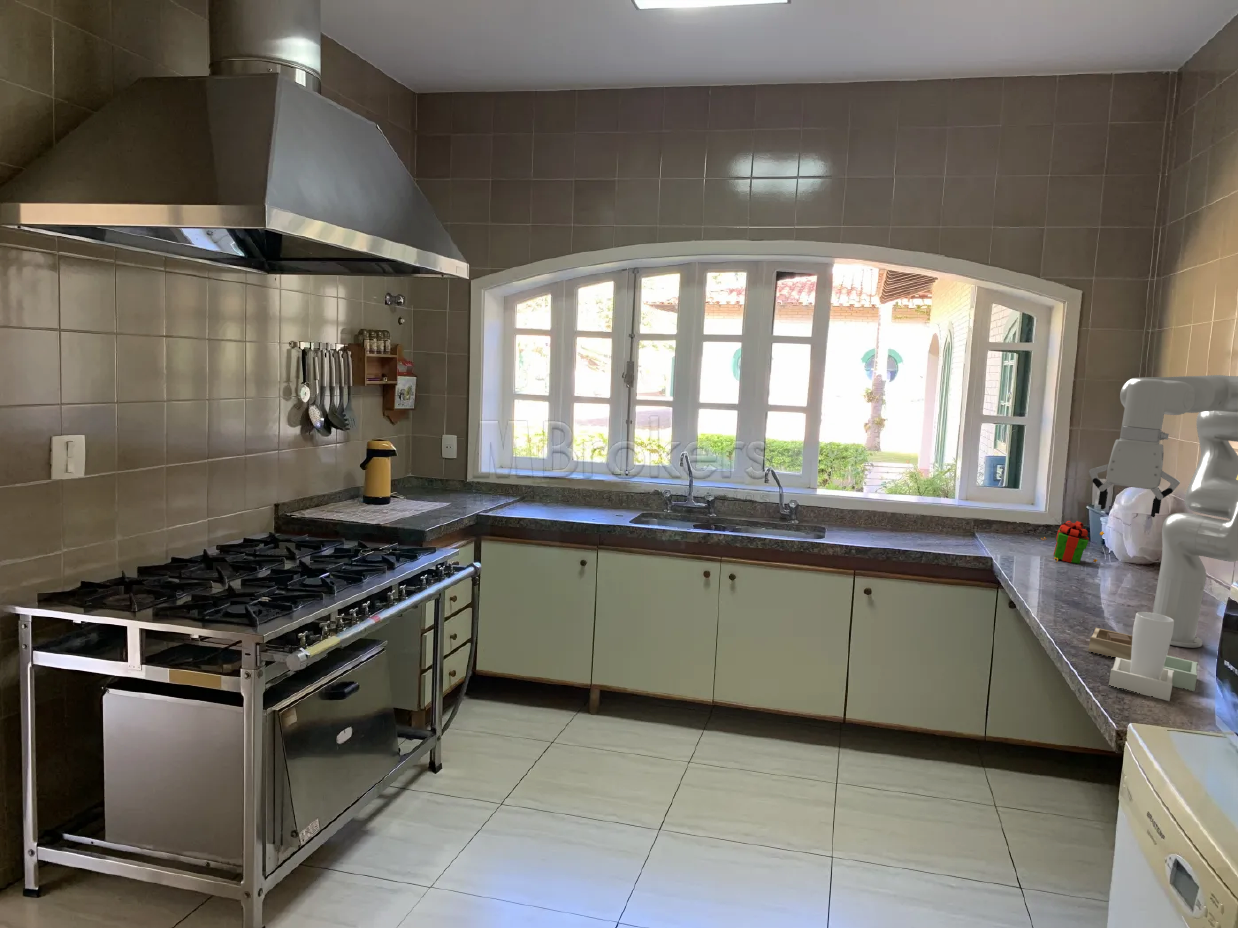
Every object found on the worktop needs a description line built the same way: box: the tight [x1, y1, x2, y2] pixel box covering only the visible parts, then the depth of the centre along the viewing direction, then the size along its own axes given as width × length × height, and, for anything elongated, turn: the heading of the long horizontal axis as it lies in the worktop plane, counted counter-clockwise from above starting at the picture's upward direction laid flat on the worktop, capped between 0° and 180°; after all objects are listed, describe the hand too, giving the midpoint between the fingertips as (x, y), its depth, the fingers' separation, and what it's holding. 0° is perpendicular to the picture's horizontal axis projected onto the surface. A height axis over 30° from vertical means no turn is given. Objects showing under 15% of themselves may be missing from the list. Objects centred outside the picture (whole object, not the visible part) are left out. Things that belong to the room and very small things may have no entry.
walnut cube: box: [1106, 633, 1131, 645], centre depth 198 cm, size 4×4×4 cm
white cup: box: [1130, 611, 1174, 680], centre depth 175 cm, size 7×7×15 cm
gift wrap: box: [1040, 520, 1105, 565], centre depth 298 cm, size 20×19×14 cm
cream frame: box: [1108, 657, 1174, 702], centre depth 176 cm, size 10×11×4 cm
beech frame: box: [1087, 627, 1132, 661], centre depth 198 cm, size 10×11×4 cm
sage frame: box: [1163, 655, 1198, 692], centre depth 183 cm, size 10×11×4 cm
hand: (1127, 512), depth 190 cm, fingers open, 9 cm apart
